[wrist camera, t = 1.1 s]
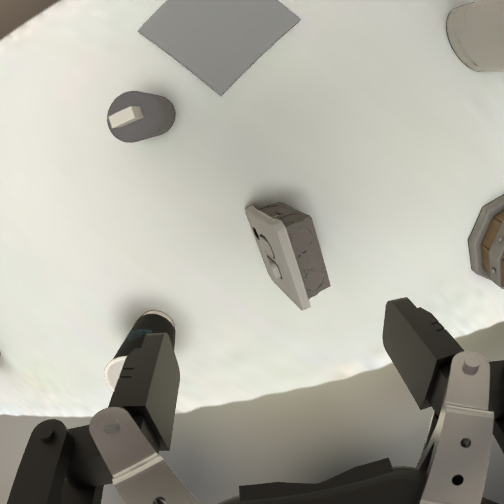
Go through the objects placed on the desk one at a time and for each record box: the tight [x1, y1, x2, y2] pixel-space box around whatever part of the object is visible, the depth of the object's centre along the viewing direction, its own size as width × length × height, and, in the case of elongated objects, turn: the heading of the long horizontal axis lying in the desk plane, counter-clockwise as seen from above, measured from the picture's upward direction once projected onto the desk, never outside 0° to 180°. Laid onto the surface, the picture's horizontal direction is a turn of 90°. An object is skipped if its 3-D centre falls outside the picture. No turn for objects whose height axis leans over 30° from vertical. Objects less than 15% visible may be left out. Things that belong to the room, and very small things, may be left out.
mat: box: [138, 0, 301, 96], centre depth 27 cm, size 12×12×1 cm
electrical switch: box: [245, 202, 330, 310], centre depth 33 cm, size 9×5×9 cm, turn 19°
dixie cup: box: [104, 311, 175, 392], centre depth 36 cm, size 8×8×11 cm
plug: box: [107, 91, 175, 142], centre depth 26 cm, size 4×4×10 cm
